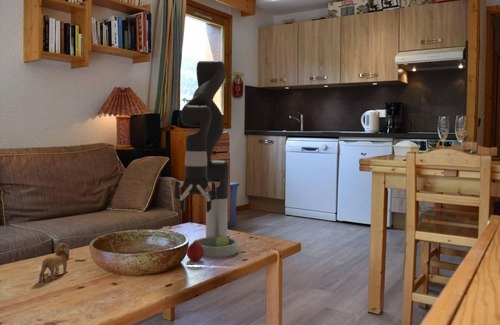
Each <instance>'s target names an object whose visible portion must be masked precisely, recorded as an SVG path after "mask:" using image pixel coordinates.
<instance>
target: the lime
mask: <svg viewBox="0 0 500 325" xmlns="http://www.w3.org/2000/svg"><path fill="white" fill-rule="evenodd" d="M228 238H229V237H225V236H220V237H218V238H217V240H216V246H217V247H221V246H228V245H229V240H228Z"/></svg>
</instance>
